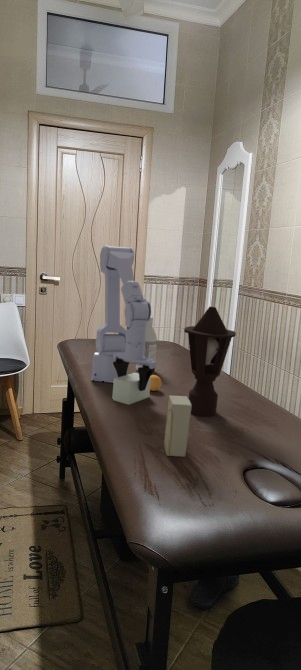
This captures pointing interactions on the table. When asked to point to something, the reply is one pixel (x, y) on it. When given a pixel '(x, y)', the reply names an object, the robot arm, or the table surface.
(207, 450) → the table surface
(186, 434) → the skincare box
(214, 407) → the lantern
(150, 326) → the bath foam
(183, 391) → the table surface
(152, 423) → the table surface
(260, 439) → the table surface
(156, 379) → the ball
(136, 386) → the mint green block
